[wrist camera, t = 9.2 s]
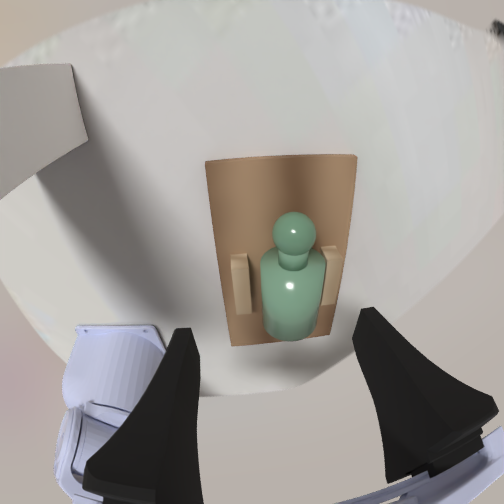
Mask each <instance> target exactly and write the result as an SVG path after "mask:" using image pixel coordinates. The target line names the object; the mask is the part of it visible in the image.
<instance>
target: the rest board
mask: <svg viewBox="0 0 504 504" xmlns="http://www.w3.org/2000/svg"><path fill="white" fill-rule="evenodd" d="M356 168H357V156H355V155H342V154H320V155H282V156H263V157H247V158H235V159H223V160H213V161H206V162H205V169H206V177H207V185H208V194H209V201H210V209H211V217H212V224H213V231H214V239H215V246H216V253H217V260H218V266H219V273H220V279H221V286H222V292H223V298H224V305H225V311H226V317H227V323H228V329H229V335H230V340H231V346H243V345H254V344H264V343H273V342H282V340H279V339H276V338H274V337H272V336H271V335H270V334H268V333H267V331H266V330H265V328H264V326H263V323H262V297H261V269H260V261H261V258H262V256H263V254H264V253H265V252H267V251H268V250H269V249H271V248H273V247H276V246H275V244H274V242H273V238H272V229H273V226H274V223H275V222H276V220H277V219H278V218H279V217H280V216H281V215H283V214H285V213H287V212H294V211H295V212H301V213H303V214H305V215H307V216H308V217H309V218H310V219H311V220H312V221H313V223H314V225H315V228H316V240H315V243H314V245H313V246H312V249H314V250H316V251H318V252H319V253H320V254H321V255H322V256H323V258H324V260H325V264H326V266H325V273H324V280H323V287H322V294H321V301H320V307H319V313H318V319H317V325H316V328H315V330H314V331H313V332H312V333H311V334H310V335H309V336H308V337H306V338H312V337H319V336H325V335H330V331H331V327H332V322H333V318H334V313H335V308H336V304H337V299H338V294H339V289H340V283H341V278H342V272H343V267H344V261H345V255H346V249H347V242H348V236H349V229H350V222H351V214H352V206H353V198H354V188H355V179H356ZM304 339H305V338H304Z"/></svg>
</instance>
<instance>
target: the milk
mask: <svg viewBox="0 0 504 504" xmlns="http://www.w3.org/2000/svg"><path fill="white" fill-rule="evenodd" d="M87 141H88V137H87V133H86V129H85V126H84V122H83V118H82V114H81V110H80V106H79V102H78V97H77V93H76V88H75V83H74V78H73V73H72V68H71V64H70V63H51V64H33V65H21V66H12V67H4V68H0V200H1V199H2V198H3V197H5V196H6V195H7V194H8V193H10V192H11V191H12V190H13V189H15V188H16V187H17V186H19V185H20V184H21V183H23V182H24V181H26V180H27V179H28V178H30V177H31V176H33V175H34V174H35V173H37V172H38V171H40V170H41V169H43V168H44V167H46V166H47V165H49V164H50V163H52V162H53V161H55V160H57V159H58V158H60V157H61V156H63V155H65V154H66V153H68V152H70V151H71V150H73V149H75V148H76V147H78V146H80V145H82V144H83V143H85V142H87Z"/></svg>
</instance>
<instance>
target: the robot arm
mask: <svg viewBox="0 0 504 504" xmlns="http://www.w3.org/2000/svg"><path fill="white" fill-rule="evenodd" d="M75 331H76V332H77V334H78V336H77V339H76V341H75V344H74V347H73V349H72V352H71V355H70V358H69V361H68V364H67V366H66V370H65V373H64V376H63V381H62V392H63V398H64V401H65V403H66V405H67V407H68V408H69V409H68V410H67V411H66V413H65V415H64V418H63V420H62V423H61V427H60V430H59V434H58V439H57V444H56V453H55V463H54V475H55V477H56V481H57V483H58V485H59V486H60V487H61V489H62V490H63V491H64V492H65V493H66V494H67V495H68V496H69V497H70V498H71V499H72V500H73V503H72V504H204V503H203V496H202V489H201V481H200V473H199V462H198V449H197V414H198V401H199V389H200V355H199V352H198V349H197V346H196V343H195V340H194V337H193V333H192V330H191V328H176V329H175V330H174V333H173V336H172V338H171V340H170V343H169V345H168V347H167V350H165V348H164V345H163V343H162V341H161V339H160V337H159V334H158V332H157V330H156V328H155V327H154V326H152V325H138V326H76V328H75ZM352 340H353V344H354V348H355V352H356V356H357V359H358V362H359V364H360V367H361V370H362V372H363V375H364V377H365V379H366V382H367V385H368V387H369V390H370V392H371V395H372V398H373V401H374V404H375V407H376V412H377V416H378V420H379V425H380V431H381V436H382V442H383V450H384V459H385V476H386V480H387V483H388V484H389V483H392V482H394V481H397V480H399V479H402V478H404V477H407V476H409V475H412V478H410V479H408V480H405V481H403V482H400V483H397V484H395V485H392V486H390V487H387V488H385V489H381V490H379V491H376V492H373V493H370V494H367V495H363V496H360V497H357V498H353V499H350V500H346V501H343V502H339V503H335V504H379V503H382V502H385V501H387V500H390V499H393V498H395V497H398V496H400V495H401V496H400V499H399V500H398V501H395V502H392V503H389V504H468V503H469V502H471V501H472V500H473V499H474V498H476V497H477V496H478V495H479V494H480V493H481V492H483V491H484V490H485V489H486V488H487V487H488V486H490V485H491V484H492V483H493V482H494V481H495V480H496V479H498V478H499V477H500V476H501V475H502V474H503V473H504V431H503V429H502V427H501V426H500V427H498V428H497V429H495V430H494V431H493V432H491V433H490V434H488V435H487V436H485V437H484V438H482V439H481V436H480V435H481V434H482V433H483V431H482V428H481V427H482V426H483V425H485V424H486V423H487V422H488V421H490V420H491V419H492V418H493V417H495V416H496V415H497V414H498V412H499V410H498V408H497V406H496V403H495V402H494V399H493V397H492V396H490V395H488V394H485V393H483V392H480V391H478V390H476V389H474V388H472V387H470V386H468V385H466V384H464V383H462V382H461V381H459V380H457V379H456V378H454V377H452V376H451V375H449V374H448V373H446V372H445V371H443V370H442V369H440V368H439V367H438V366H436V365H435V364H434V363H432V362H431V361H430V360H428V359H427V358H426V357H425V356H424V355H423V354H421V353H420V352H419V351H418V350H417V349H416V348H415V347H414V346H412V345H411V344H410V343H409V342H408V341H407V340H406V339H405V338H404V337H403V336H402V335H401V334H400V333H399V332H398V331H397V330H396V329H395V328H394V327H393V326H392V325H391V324H390V323H389V322H388V321H387V320H386V319H385V318H384V317H383V316H382V315H381V314H380V313H379V312H378V311H377V310H376V309H375V308H374V307H369V308H363V309H361V311H360V315H359V318H358V321H357V324H356V328H355V331H354V334H353V337H352Z"/></svg>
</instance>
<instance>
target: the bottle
mask: <svg viewBox="0 0 504 504" xmlns="http://www.w3.org/2000/svg"><path fill="white" fill-rule="evenodd" d="M272 238H273V242H274V244H275V246H276V247H273V248H271V249H269V250H268V251H267V252H265V253H264V254H263V256H262V258H261V261H260V269H261V297H262V323H263V326H264V328H265V330H266V331H267V333H268V334H270V335H271V336H272V337H274V338H276V339H279V340H282V341H298V340H302V339H304V338H306V337H308V336H309V335H310V334H311V333H312V332H313V331H314V330H315V328H316V325H317V319H318V313H319V307H320V301H321V294H322V287H323V280H324V273H325V266H326V264H325V260H324V258H323V256H322V255H321V254H320V253H319V252H318V251H316V250H314V249H312V246H313V245H314V243H315V240H316V228H315V225H314V223H313V221H312V220H311V219H310V218H309V217H308V216H307V215H305V214H303V213H301V212H295V211H294V212H287V213H285V214H283V215H281V216H280V217H279V218H278V219H277V220H276V222H275V223H274V226H273V229H272Z"/></svg>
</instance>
